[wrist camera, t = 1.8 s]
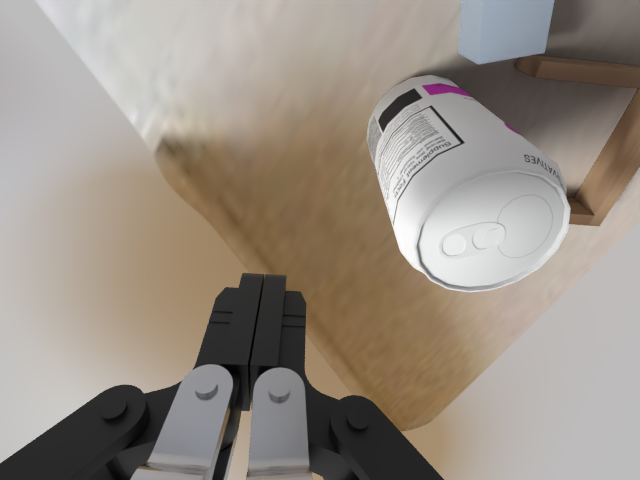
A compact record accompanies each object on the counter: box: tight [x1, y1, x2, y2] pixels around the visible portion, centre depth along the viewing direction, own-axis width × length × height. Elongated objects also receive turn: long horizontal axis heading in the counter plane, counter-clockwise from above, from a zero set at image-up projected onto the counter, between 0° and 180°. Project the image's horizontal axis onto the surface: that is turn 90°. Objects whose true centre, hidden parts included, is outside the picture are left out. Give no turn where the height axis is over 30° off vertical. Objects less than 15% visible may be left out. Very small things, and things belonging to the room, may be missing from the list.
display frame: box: [515, 55, 640, 226], centre depth 28 cm, size 12×11×3 cm
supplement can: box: [367, 75, 571, 292], centre depth 23 cm, size 8×8×15 cm
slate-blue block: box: [458, 0, 555, 65], centre depth 23 cm, size 4×4×4 cm
